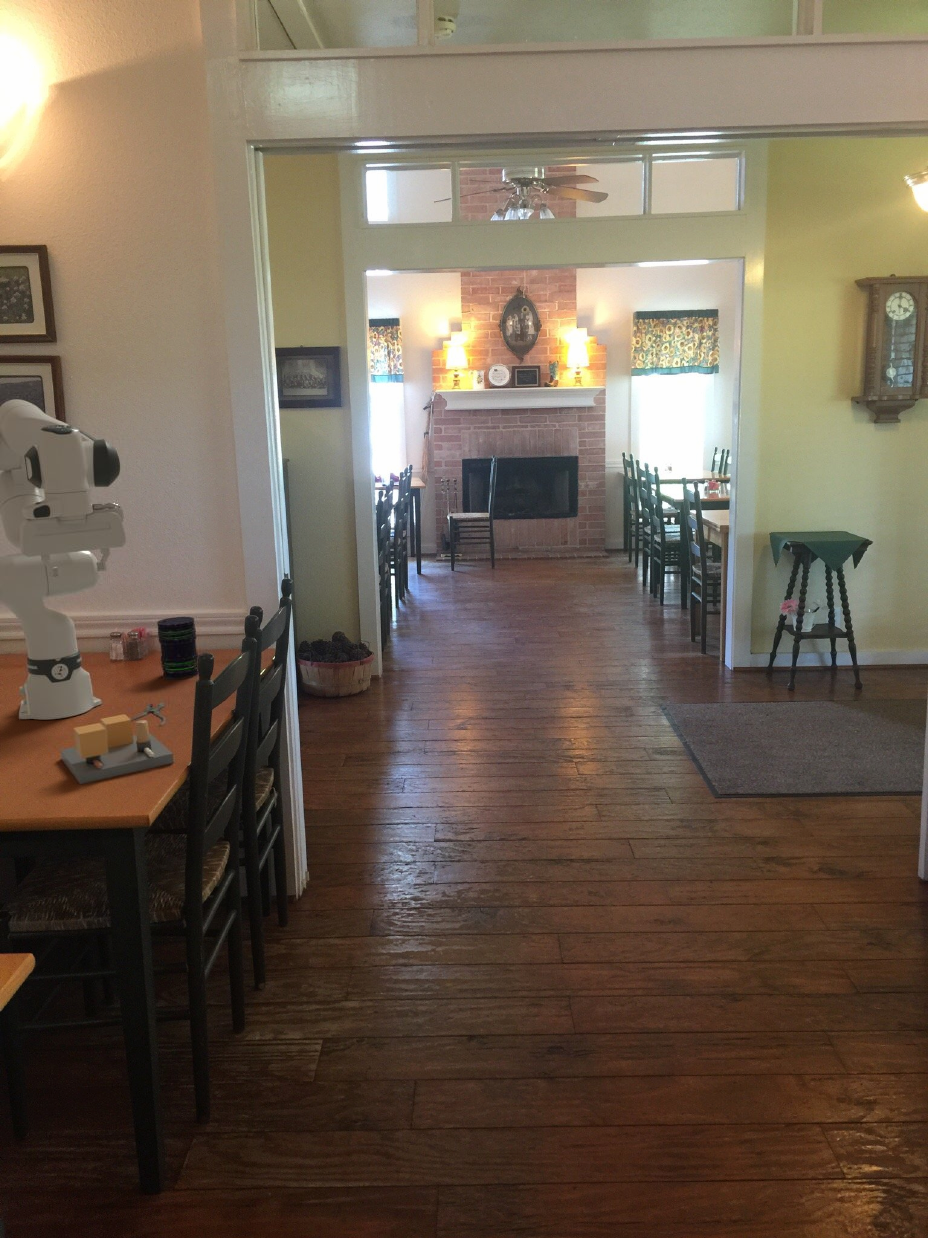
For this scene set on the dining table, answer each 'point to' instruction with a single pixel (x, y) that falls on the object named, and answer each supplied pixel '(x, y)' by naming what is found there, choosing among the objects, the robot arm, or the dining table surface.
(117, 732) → the tan wooden toy brick
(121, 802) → the dining table surface
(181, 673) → the storage jar
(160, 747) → the board
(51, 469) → the robot arm
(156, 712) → the pliers
